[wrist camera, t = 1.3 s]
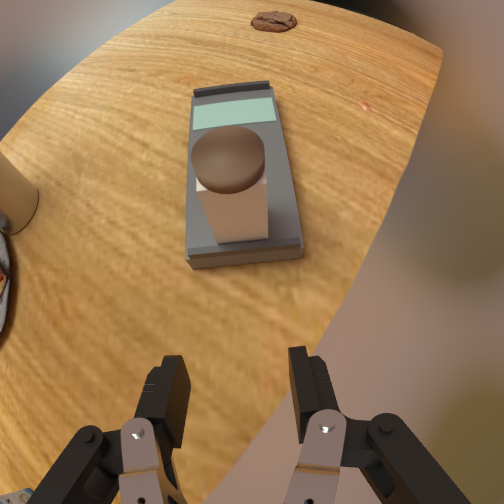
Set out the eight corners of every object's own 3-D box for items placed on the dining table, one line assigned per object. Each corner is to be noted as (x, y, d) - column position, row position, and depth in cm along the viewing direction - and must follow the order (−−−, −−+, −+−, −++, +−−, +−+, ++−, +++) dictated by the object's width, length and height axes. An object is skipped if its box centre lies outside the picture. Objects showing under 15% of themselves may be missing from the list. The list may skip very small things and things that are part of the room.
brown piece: (270, 246, 30) (268, 176, 19) (217, 251, 30) (189, 185, 19) (264, 201, 32) (260, 122, 21) (215, 206, 32) (191, 130, 21)
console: (301, 258, 33) (305, 243, 29) (192, 269, 33) (182, 255, 29) (272, 100, 43) (272, 80, 39) (195, 109, 43) (190, 89, 39)
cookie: (305, 26, 54) (306, 15, 51) (271, 37, 52) (271, 26, 49) (276, 14, 57) (275, 5, 54) (242, 25, 55) (241, 15, 52)
